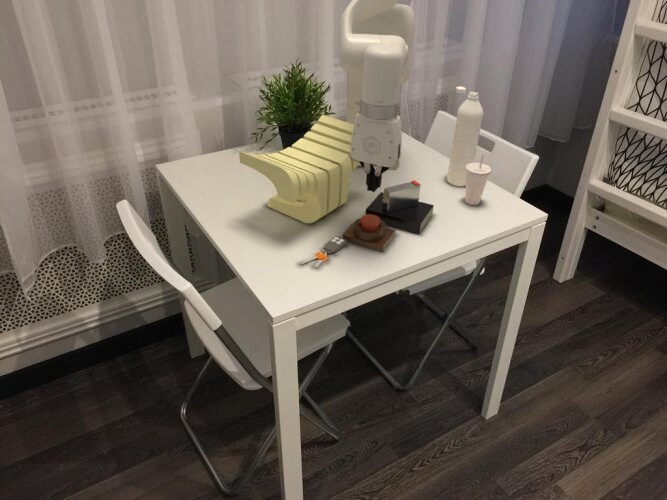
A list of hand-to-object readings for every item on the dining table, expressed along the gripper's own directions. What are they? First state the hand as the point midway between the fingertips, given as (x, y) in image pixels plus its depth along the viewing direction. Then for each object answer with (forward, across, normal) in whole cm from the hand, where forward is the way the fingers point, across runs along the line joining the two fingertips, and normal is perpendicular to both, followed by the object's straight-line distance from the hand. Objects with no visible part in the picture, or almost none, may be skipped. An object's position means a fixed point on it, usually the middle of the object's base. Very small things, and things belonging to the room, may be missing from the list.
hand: (373, 188), depth 130 cm
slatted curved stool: (+13, -19, +6) cm, 24 cm away
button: (+10, 0, 0) cm, 10 cm away
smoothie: (+13, +17, +29) cm, 36 cm away
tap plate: (+13, +3, +12) cm, 18 cm away
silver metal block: (+10, +3, +12) cm, 16 cm away
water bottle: (+13, +10, +39) cm, 42 cm away
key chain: (+13, -6, -11) cm, 18 cm away
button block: (+13, 0, 0) cm, 13 cm away
